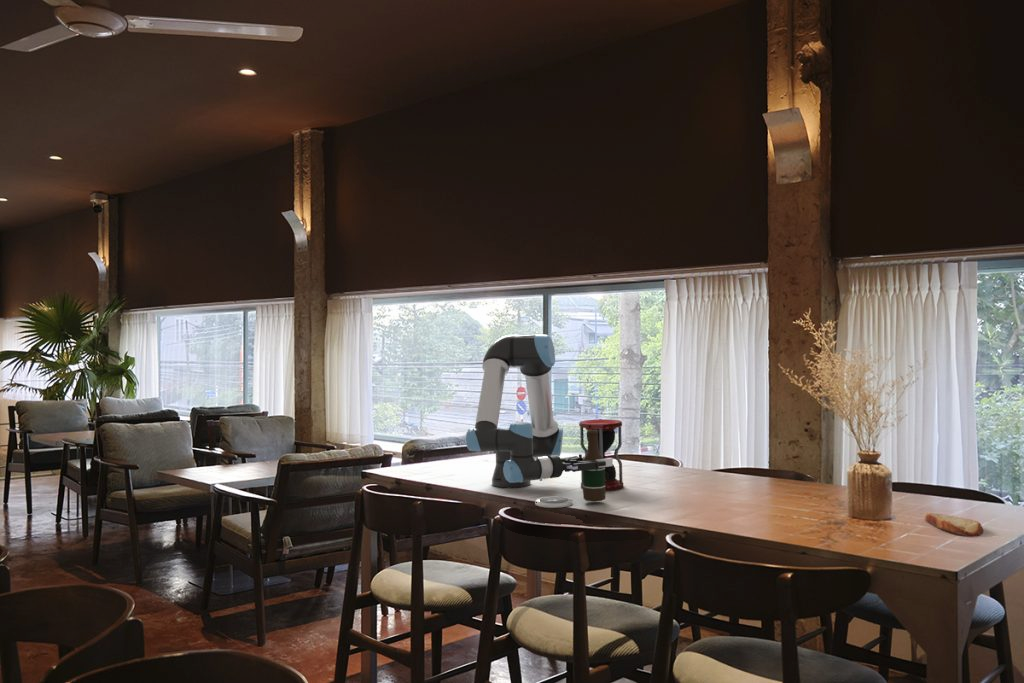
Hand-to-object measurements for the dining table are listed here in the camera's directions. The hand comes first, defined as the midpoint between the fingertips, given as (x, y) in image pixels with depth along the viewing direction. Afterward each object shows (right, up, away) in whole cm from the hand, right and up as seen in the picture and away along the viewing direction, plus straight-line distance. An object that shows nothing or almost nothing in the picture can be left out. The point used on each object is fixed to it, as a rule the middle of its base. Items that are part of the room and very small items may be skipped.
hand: (605, 460), depth 286 cm
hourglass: (+2, -14, +26) cm, 30 cm away
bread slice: (+96, -13, -46) cm, 107 cm away
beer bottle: (-4, -13, -2) cm, 14 cm away
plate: (-18, -15, -1) cm, 23 cm away
